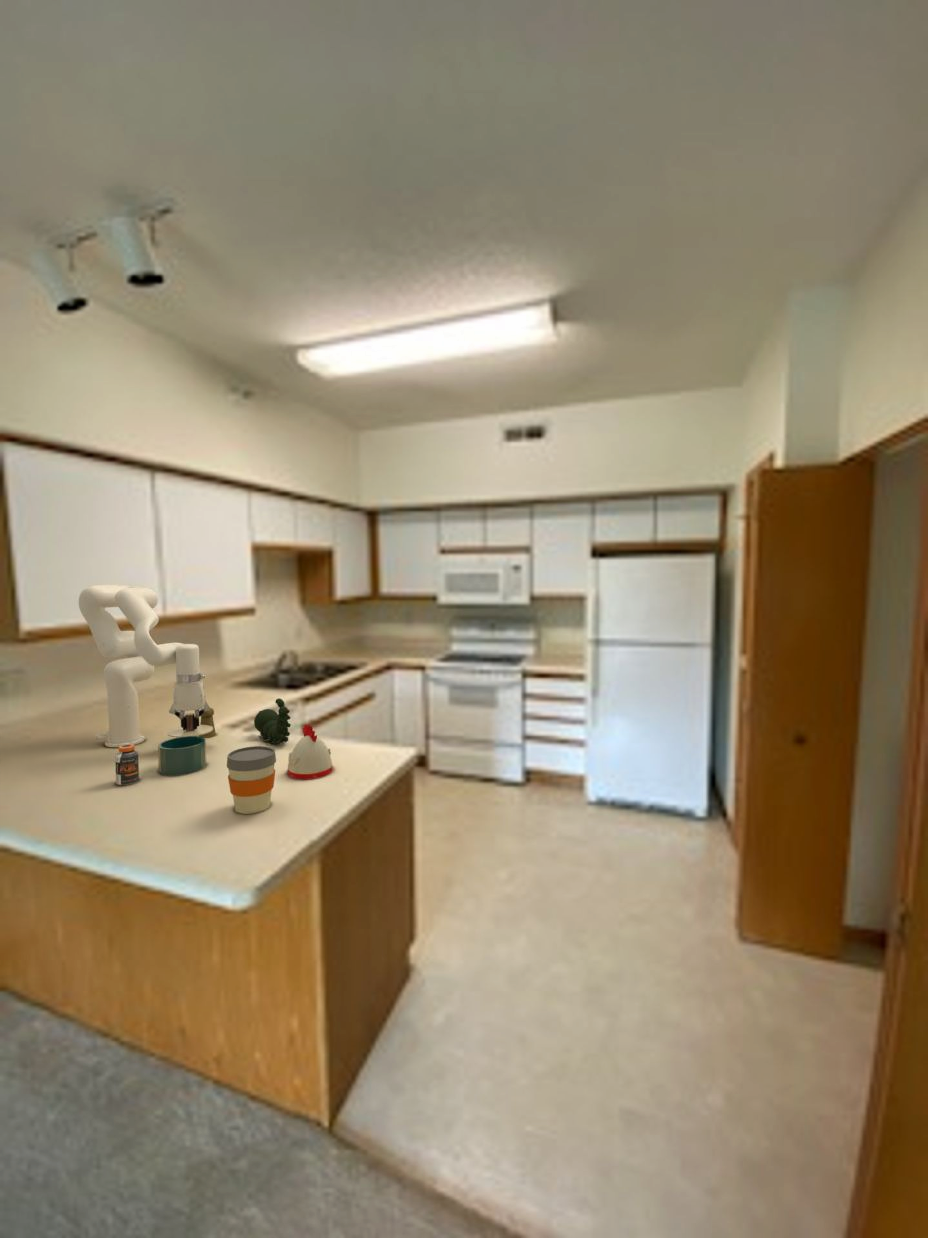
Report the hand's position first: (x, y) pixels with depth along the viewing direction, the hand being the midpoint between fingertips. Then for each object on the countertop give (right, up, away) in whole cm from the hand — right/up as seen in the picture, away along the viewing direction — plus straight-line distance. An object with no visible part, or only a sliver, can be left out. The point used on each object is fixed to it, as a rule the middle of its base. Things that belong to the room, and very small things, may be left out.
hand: (190, 728), depth 190 cm
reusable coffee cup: (+41, -12, -46) cm, 62 cm away
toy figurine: (+25, -7, +12) cm, 29 cm away
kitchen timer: (+49, -10, -19) cm, 53 cm away
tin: (+7, -9, -17) cm, 20 cm away
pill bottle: (-4, -10, -29) cm, 31 cm away
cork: (-3, -7, +18) cm, 19 cm away
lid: (0, -1, 0) cm, 1 cm away
